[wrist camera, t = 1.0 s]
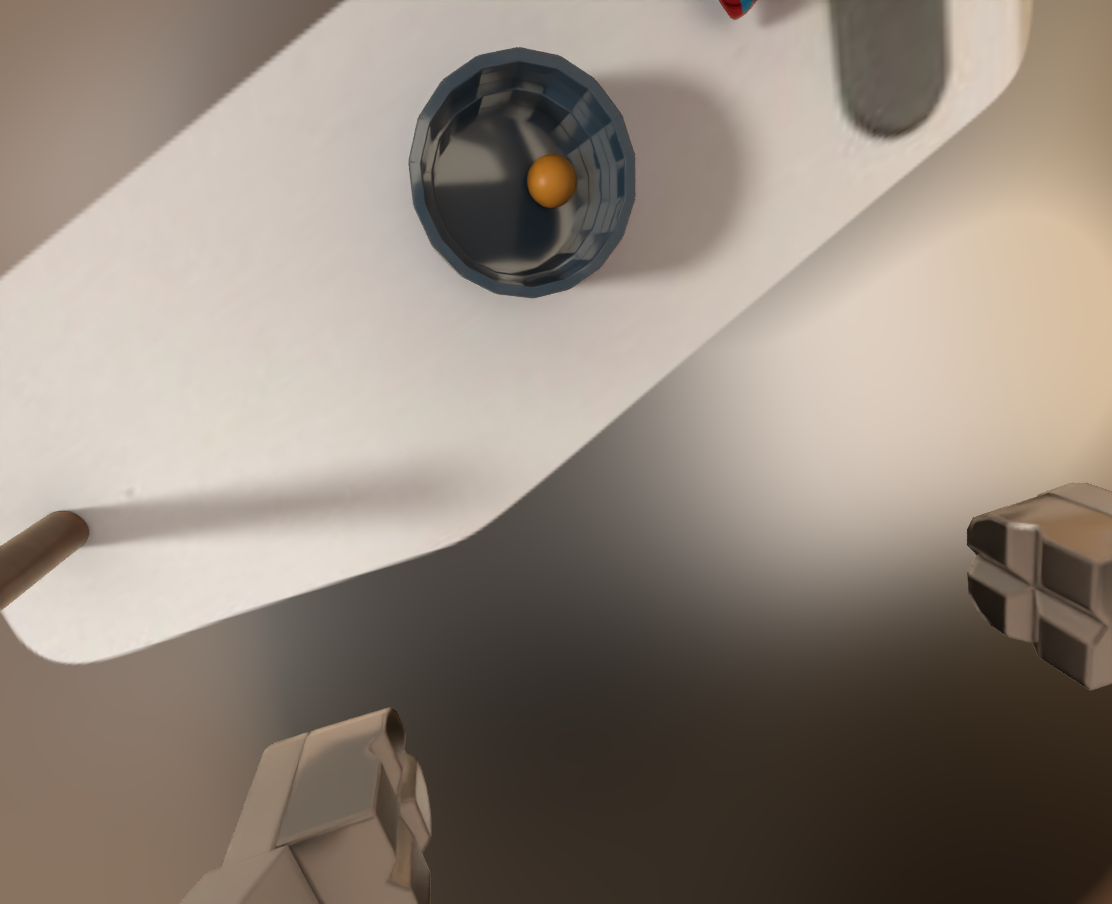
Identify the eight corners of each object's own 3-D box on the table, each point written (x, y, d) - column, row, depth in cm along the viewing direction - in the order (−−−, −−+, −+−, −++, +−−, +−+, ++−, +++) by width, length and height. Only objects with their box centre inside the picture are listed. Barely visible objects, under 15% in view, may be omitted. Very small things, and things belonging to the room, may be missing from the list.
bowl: (387, 108, 28) (376, 75, 23) (583, 67, 29) (614, 26, 24) (444, 310, 32) (445, 320, 27) (619, 267, 33) (653, 268, 28)
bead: (518, 163, 30) (525, 155, 27) (565, 153, 30) (575, 144, 28) (530, 214, 30) (537, 211, 28) (575, 203, 31) (586, 199, 28)
